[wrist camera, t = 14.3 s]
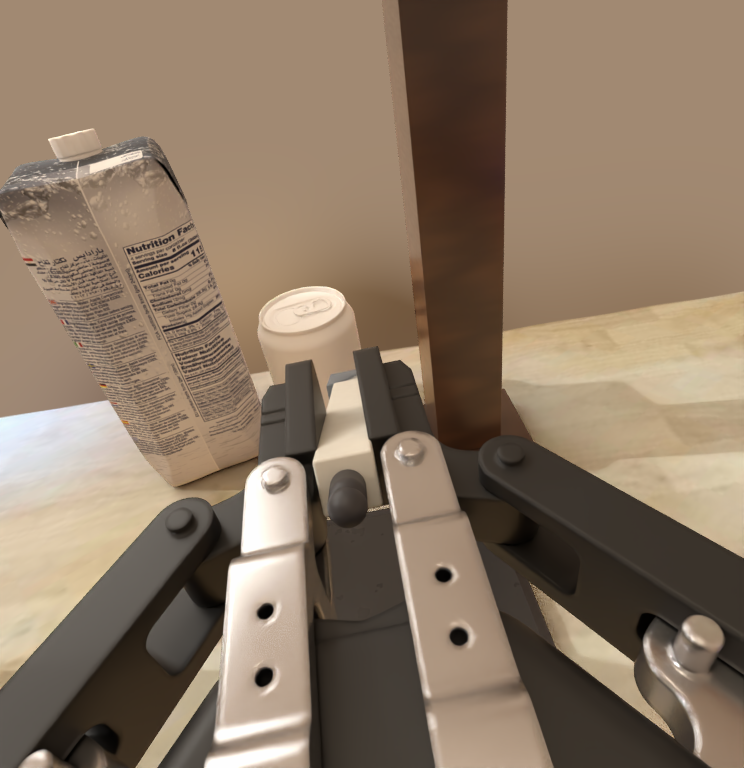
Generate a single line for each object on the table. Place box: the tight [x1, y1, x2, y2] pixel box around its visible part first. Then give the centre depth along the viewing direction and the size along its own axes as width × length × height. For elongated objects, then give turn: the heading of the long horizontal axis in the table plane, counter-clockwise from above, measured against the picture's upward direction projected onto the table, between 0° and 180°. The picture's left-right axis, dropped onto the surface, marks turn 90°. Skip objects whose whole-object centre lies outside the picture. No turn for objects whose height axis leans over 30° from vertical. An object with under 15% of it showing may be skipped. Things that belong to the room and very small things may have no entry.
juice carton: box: [0, 128, 261, 487], centre depth 39 cm, size 9×10×27 cm
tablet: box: [327, 508, 556, 648], centre depth 30 cm, size 17×21×1 cm
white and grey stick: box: [313, 369, 383, 528], centre depth 17 cm, size 2×17×1 cm
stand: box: [382, 0, 533, 451], centre depth 32 cm, size 10×10×35 cm
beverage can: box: [258, 286, 361, 411], centre depth 45 cm, size 8×8×12 cm
